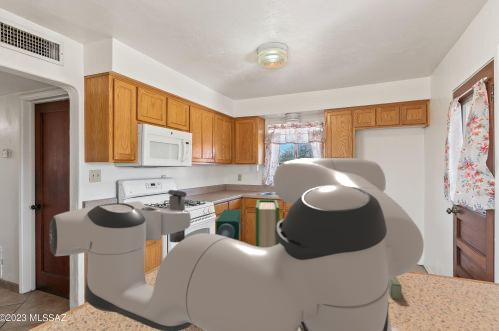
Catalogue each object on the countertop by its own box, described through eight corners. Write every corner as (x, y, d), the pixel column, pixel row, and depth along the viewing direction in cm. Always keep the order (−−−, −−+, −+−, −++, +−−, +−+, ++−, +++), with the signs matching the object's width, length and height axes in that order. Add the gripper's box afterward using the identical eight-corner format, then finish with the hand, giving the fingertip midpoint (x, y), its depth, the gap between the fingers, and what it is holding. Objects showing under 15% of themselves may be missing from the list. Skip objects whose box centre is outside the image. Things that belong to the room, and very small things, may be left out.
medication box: (401, 300, 74) (402, 285, 74) (391, 298, 75) (391, 284, 75) (391, 282, 86) (392, 269, 86) (382, 281, 86) (382, 268, 86)
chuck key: (192, 241, 70) (191, 191, 70) (178, 245, 68) (178, 192, 68) (176, 235, 76) (176, 189, 76) (162, 238, 74) (162, 190, 74)
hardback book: (279, 283, 84) (279, 207, 84) (255, 283, 85) (255, 207, 85) (276, 262, 102) (276, 200, 102) (257, 262, 102) (257, 200, 102)
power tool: (236, 301, 73) (236, 228, 73) (211, 301, 73) (210, 228, 73) (242, 260, 105) (242, 209, 105) (224, 259, 105) (224, 209, 105)
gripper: (109, 228, 68) (156, 219, 79) (159, 242, 56) (206, 229, 67) (109, 203, 68) (156, 198, 79) (159, 211, 56) (206, 203, 67)
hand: (179, 212), depth 73 cm, fingers closed on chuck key, 4 cm apart
